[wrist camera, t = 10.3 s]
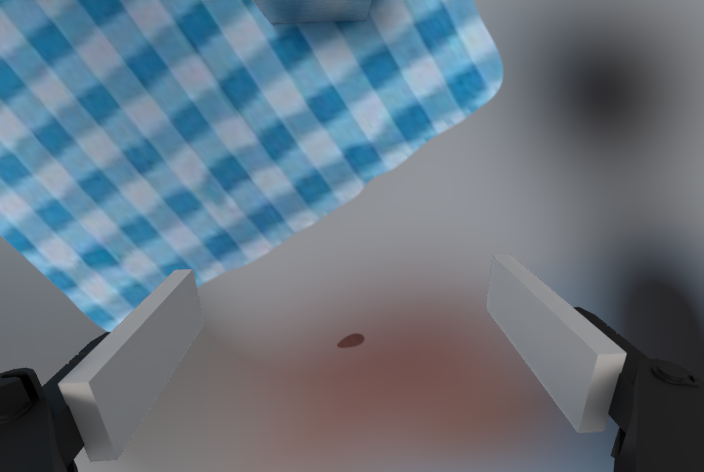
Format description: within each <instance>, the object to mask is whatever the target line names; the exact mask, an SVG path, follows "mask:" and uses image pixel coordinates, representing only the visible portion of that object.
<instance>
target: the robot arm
mask: <svg viewBox="0 0 704 472" xmlns="http://www.w3.org/2000/svg"><path fill="white" fill-rule="evenodd" d="M486 309H487V311H488V312H489V313H490V314H491V316H492V317H493V318H494V320H495V321H496V323H497V324H498V325H499V327H500V328H501V329H502V331H503V332H504V333H505V335H506V336H507V338H508V339H509V340H510V342H511V343H512V344H513V346H514V347H515V348H516V349H517V351H518V352H519V354H520V355H521V356H522V358H523V359H524V360H525V362H526V363H527V365H528V366H529V367H530V369H531V370H532V371H533V373H534V374H535V375H536V377H537V378H538V379H539V381H540V382H541V383H542V385H543V386H544V388H545V389H546V390H547V392H548V393H549V394H550V395H551V397H552V398H553V400H554V401H555V402H556V404H557V405H558V406H559V408H560V409H561V411H562V412H563V413H564V415H565V416H566V417H567V418H568V420H569V421H570V423H571V424H572V425H573V427H574V428H575V429H576V431H577V432H578V433H586V432H604V430H605V427H606V424H607V420H608V417H609V415H610V416H611V418H612V419H613V420H614V421H615V422H616V423H617V424H618V426H619V430H618V433H617V437H616V440H615V443H614V446H613V450H612V453H611V456H612V457H614V458H615V461H614V472H704V382H702V380H701V379H700V378H698V377H697V376H696V375H695V374H694V373H693V372H691V371H689V370H687V369H685V368H683V367H682V366H679V365H677V364H674V363H672V362H669V361H664V360H659V359H649V358H648V357H647V356H645V355H644V354H643V353H642V352H641V351H639V350H638V349H637V348H636V347H634V346H633V345H632V344H631V343H629V342H628V341H627V340H626V339H624V338H623V337H622V336H621V335H619V334H616V331H614V330H613V329H612V328H611V327H609V326H607V325H606V323H604V322H603V321H602V320H601V319H599V318H598V317H597V316H596V315H594V314H592V313H590V312H588V311H586V310H584V309H582V308H580V307H575V308H574V307H572V306H570V305H569V304H568V303H567V302H565V300H563V299H562V298H561V297H559V295H557V294H556V293H555V292H554V291H553V290H552V289H550V288H549V287H548V286H547V285H545V284H544V283H543V282H542V281H541V280H540V279H538V278H537V277H536V276H535V275H534V274H533V273H531V272H530V271H529V270H528V269H527V268H525V267H524V266H523V265H522V264H521V263H519V262H518V261H517V260H516V259H515V258H513V257H512V256H511V255H510V254H498V255H492V261H491V270H490V279H489V288H488V297H487V306H486ZM203 325H204V319H203V314H202V309H201V305H200V300H199V296H198V291H197V286H196V282H195V277H194V272H193V269H184V270H174V271H173V272H172V273H171V274H170V275H169V276H168V277H167V278H166V279H165V280H164V281H163V282H162V283H161V284H160V285H159V286H158V287H157V288H156V289H155V290H154V291H153V292H152V293H151V294H150V295H149V296H148V297H147V298H146V299H145V300H144V301H143V302H142V303H140V304H139V305H138V306H137V307H136V308H135V309H134V310H133V311H132V312H131V313H130V314H129V315H128V316H127V317H126V318H125V319H124V320H123V321H122V322H121V323H120V324H119V325H118V326H117V327H116V328H115V329H114V330H113V331H112V332H106V333H104V334H103V335H101V336H100V337H98V338H96V339H95V340H93V341H91V342H90V343H89V344H88V345H87V346H86V347H84V349H82V350H81V351H80V352H79V355H76V356H75V357H74V358H73V359H72V360H70V361H69V364H66V365H65V366H64V367H63V368H62V369H61V370H60V371H59V372H58V373H56V374H55V375H54V376H53V377H52V378H51V379H50V380H49V381H48V382H47V383H46V384H45V385H44V386H43V387H42V386H41V384H40V382H39V380H38V377H37V375H36V373H35V371H34V370H33V369H29V368H20V369H13V370H10V371H7V372H4V373H0V472H78V469H77V466H76V464H75V462H74V458H75V457H76V455H77V454H78V453H79V452H80V450H81V449H82V448H83V447H84V448H85V450H86V453H87V455H88V458H89V460H90V461H91V462H92V461H109V460H118V459H119V457H120V456H121V454H122V453H123V451H124V449H125V448H126V446H127V445H128V443H129V442H130V440H131V438H132V437H133V435H134V434H135V432H136V430H137V429H138V427H139V426H140V424H141V423H142V421H143V419H144V418H145V416H146V415H147V413H148V412H149V410H150V408H151V407H152V405H153V404H154V402H155V400H156V399H157V397H158V396H159V394H160V393H161V391H162V389H163V388H164V386H165V385H166V383H167V382H168V380H169V378H170V377H171V375H172V374H173V372H174V370H175V369H176V367H177V366H178V364H179V363H180V361H181V359H182V358H183V356H184V355H185V353H186V351H187V350H188V348H189V347H190V345H191V344H192V342H193V340H194V339H195V337H196V336H197V334H198V332H199V331H200V329H201V328H202V326H203Z"/></svg>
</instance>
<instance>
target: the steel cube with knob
mask: <svg viewBox="0 0 704 472" xmlns="http://www.w3.org/2000/svg"><path fill="white" fill-rule="evenodd" d="M252 1H253V2H254V3H255V4H256V6H257V7H258V8H259V10H260V11H261V12H262V13H263V15H264V16H265V17H266V18H267V20H268V21H269V22H270V23H271V24H278V23H307V22H337V21H366V18H367V15H368V12H369V8H370V5H371V2H372V0H252Z"/></svg>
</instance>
